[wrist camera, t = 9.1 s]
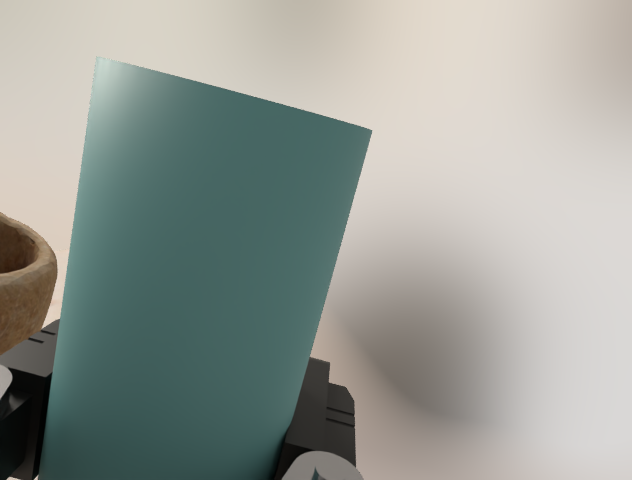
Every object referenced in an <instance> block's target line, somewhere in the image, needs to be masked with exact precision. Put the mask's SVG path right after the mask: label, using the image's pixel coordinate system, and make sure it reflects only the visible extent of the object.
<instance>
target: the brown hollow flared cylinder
mask: <svg viewBox="0 0 632 480" xmlns="http://www.w3.org/2000/svg"><path fill="white" fill-rule="evenodd" d="M56 279H57V260H56V256H55V253H54V252H53V250H52V249H51V247H50V246H49V245H48V244H47V242H46V241H45V240H44V239H43V238H42V237H41V236H40V235H39V234H38V233H36V232H35V231H34V230H32V229H31V228H30V227H29V226H27V225H25V224H23V223H21V222H19V221H16V220H14V219H11V218H8V217H7V216H6V215H4V214H3V213H1V212H0V355H2V354H4V353H5V352H7V351H8V350H10V349H11V348H13V347H14V346H16V345H18V344H19V343H21V342H22V341H24V340H25V339H26V340H28V338H29V337H30V336H32V335H33V334H35V333H36V332H40V331H41V328H42V325H43V323H44V320H45V318H46V315H47V312H48V309H49V306H50V303H51V299H52V295H53V291H54V287H55V283H56Z"/></svg>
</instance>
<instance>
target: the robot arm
mask: <svg viewBox="0 0 632 480" xmlns="http://www.w3.org/2000/svg"><path fill="white" fill-rule="evenodd" d="M59 323H60V319H58V320H55V321H54V322H52V323H50V324H49V325H47V326H46V327H44V328H43V329H41V331H40V332H36V333H35V334H33V335H32V336H30V337H29V338H28V340H26V339H25V340H24V341H22V342H21V343H19V344H18V345H16V346H14V347H13V348H11V349H10V350H8V351H7V352H5V353H4V354H2V355H0V480H7V479H8V477H13V478H17V479H21V480H34V479H35V478H36V477H37V475H38V474H39V467H40V460H41V453H42V446H43V439H44V431H45V424H46V417H47V410H48V403H49V395H50V388H51V381H52V374H53V366H54V359H55V352H56V345H57V338H58V330H59ZM329 370H330V362H326V361H322V360H319V359H315V358H311V357H309V361H308V365H307V368H306V372H305V375H304V379H303V383H302V386H301V390H300V393H299V397H298V401H297V404H296V408H295V411H294V415H293V418H292V421H291V424H290V425H289V427H288V429H287V433H286V436H285V440H284V443H283V447H282V451H281V454H280V458H279V461H278V465H277V469H276V472H275V476H274V480H363V478H362V476H361V474H360V472H359V471H358V470H357V469H356V455H355V428H354V427H355V417H354V414H355V411H354V400H353V398H352V397H351V395H350V393H349V392H348V390H347V388H346V387H344V386H339V385H336V384H332V383H329Z"/></svg>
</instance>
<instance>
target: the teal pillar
mask: <svg viewBox="0 0 632 480" xmlns="http://www.w3.org/2000/svg"><path fill="white" fill-rule="evenodd" d="M371 134H372V130H370V129H367V128H364V127H361V126H357V125H354V124H350V123H347V122H344V121H340V120H337V119H333V118H329V117H326V116H322V115H319V114H315V113H312V112H308V111H304V110H301V109H297V108H294V107H290V106H286V105H283V104H279V103H275V102H271V101H268V100H264V99H261V98H257V97H253V96H249V95H246V94H242V93H238V92H235V91H231V90H227V89H223V88H220V87H216V86H212V85H208V84H204V83H201V82H197V81H193V80H189V79H185V78H182V77H178V76H174V75H170V74H166V73H162V72H158V71H155V70H151V69H147V68H143V67H139V66H135V65H131V64H127V63H123V62H119V61H115V60H110V59H106V58H102V57H96V64H95V72H94V78H93V86H92V93H91V100H90V107H89V114H88V121H87V129H86V136H85V143H84V151H83V157H82V165H81V173H80V179H79V186H78V194H77V201H76V208H75V215H74V222H73V229H72V237H71V244H70V251H69V258H68V266H67V273H66V280H65V287H64V294H63V302H62V309H61V316H60V323H59V330H58V338H57V345H56V352H55V359H54V366H53V374H52V381H51V388H50V395H49V403H48V410H47V417H46V424H45V431H44V439H43V446H42V453H41V460H40V467H39V475H38V480H274V476H275V472H276V469H277V465H278V461H279V458H280V454H281V451H282V447H283V443H284V440H285V436H286V433H287V429H288V427H289V425H290V424H291V421H292V418H293V415H294V411H295V408H296V404H297V401H298V397H299V393H300V390H301V386H302V383H303V379H304V375H305V372H306V368H307V365H308V361H309V357H310V354H311V350H312V346H313V343H314V339H315V335H316V332H317V328H318V325H319V321H320V318H321V314H322V310H323V307H324V303H325V300H326V296H327V292H328V289H329V285H330V282H331V278H332V274H333V271H334V267H335V264H336V260H337V256H338V253H339V249H340V246H341V242H342V238H343V235H344V231H345V228H346V224H347V220H348V217H349V213H350V210H351V206H352V202H353V199H354V195H355V192H356V188H357V184H358V180H359V177H360V174H361V170H362V166H363V163H364V159H365V155H366V152H367V148H368V145H369V141H370V137H371Z"/></svg>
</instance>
